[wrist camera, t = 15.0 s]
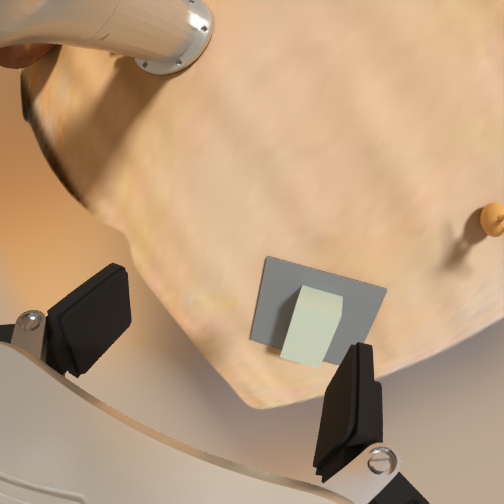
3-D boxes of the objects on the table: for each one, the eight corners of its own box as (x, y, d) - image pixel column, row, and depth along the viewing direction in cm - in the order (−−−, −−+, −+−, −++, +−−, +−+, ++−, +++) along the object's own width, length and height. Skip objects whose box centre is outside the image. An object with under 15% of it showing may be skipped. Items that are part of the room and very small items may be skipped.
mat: (251, 337, 44) (250, 339, 43) (267, 255, 38) (266, 257, 37) (350, 365, 40) (350, 367, 40) (386, 288, 34) (386, 290, 34)
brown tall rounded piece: (74, -2, 30) (-31, -16, 8) (73, 49, 34) (-48, 48, 12) (36, 32, 34) (-57, 33, 12) (35, 81, 39) (-66, 93, 17)
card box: (302, 285, 37) (296, 303, 33) (342, 296, 36) (341, 316, 32) (286, 337, 41) (279, 357, 37) (322, 347, 40) (319, 368, 36)
